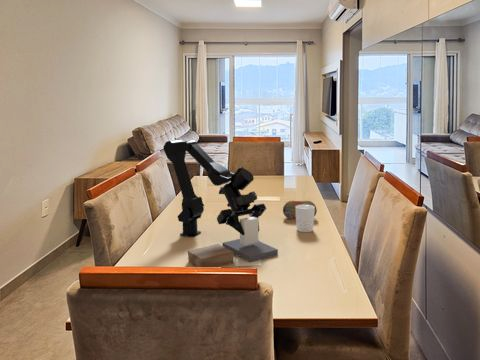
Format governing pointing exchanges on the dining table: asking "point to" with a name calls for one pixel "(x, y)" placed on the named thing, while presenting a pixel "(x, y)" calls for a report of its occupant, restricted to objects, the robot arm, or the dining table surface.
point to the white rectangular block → (249, 230)
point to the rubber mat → (250, 250)
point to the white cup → (305, 217)
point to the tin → (290, 208)
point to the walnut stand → (210, 256)
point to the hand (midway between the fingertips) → (251, 233)
